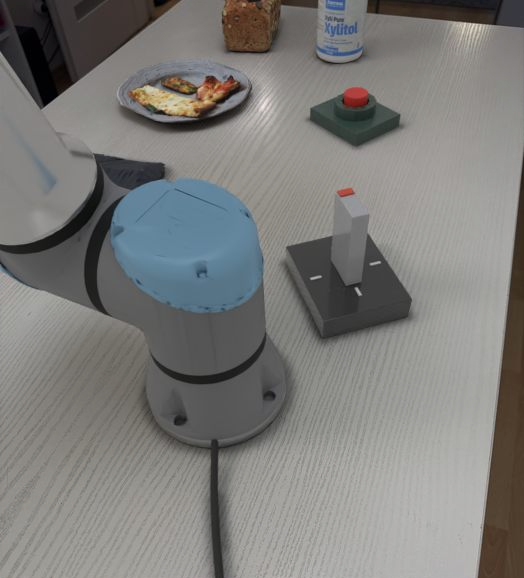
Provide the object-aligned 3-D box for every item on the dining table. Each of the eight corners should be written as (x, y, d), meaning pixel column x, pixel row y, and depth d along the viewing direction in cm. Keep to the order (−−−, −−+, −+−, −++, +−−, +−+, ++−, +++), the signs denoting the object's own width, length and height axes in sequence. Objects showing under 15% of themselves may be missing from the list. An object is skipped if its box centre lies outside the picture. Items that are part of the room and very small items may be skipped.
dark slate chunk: (138, 222, 80) (130, 195, 76) (7, 207, 84) (-7, 180, 81) (173, 165, 89) (168, 138, 86) (53, 154, 94) (43, 128, 90)
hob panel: (408, 316, 66) (412, 298, 63) (322, 338, 64) (323, 320, 62) (362, 245, 74) (364, 227, 72) (286, 263, 73) (285, 245, 70)
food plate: (275, 93, 104) (275, 74, 101) (189, 146, 93) (186, 126, 90) (184, 61, 115) (181, 43, 112) (98, 105, 104) (92, 87, 101)
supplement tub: (322, 67, 110) (325, -17, 98) (311, 48, 116) (313, -33, 104) (368, 61, 110) (377, -23, 99) (355, 42, 116) (361, -39, 105)
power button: (372, 103, 92) (373, 92, 91) (354, 111, 91) (355, 100, 89) (356, 95, 94) (356, 84, 93) (338, 102, 93) (339, 92, 91)
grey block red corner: (361, 282, 65) (370, 211, 58) (345, 286, 65) (352, 215, 57) (345, 256, 69) (351, 186, 61) (330, 260, 68) (335, 189, 60)
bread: (270, 53, 115) (268, 0, 107) (221, 52, 117) (216, 0, 109) (283, 19, 127) (282, -31, 119) (239, 19, 128) (235, -31, 120)
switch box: (398, 126, 94) (402, 103, 91) (355, 146, 90) (357, 123, 87) (351, 101, 100) (353, 79, 97) (309, 119, 97) (310, 97, 94)
